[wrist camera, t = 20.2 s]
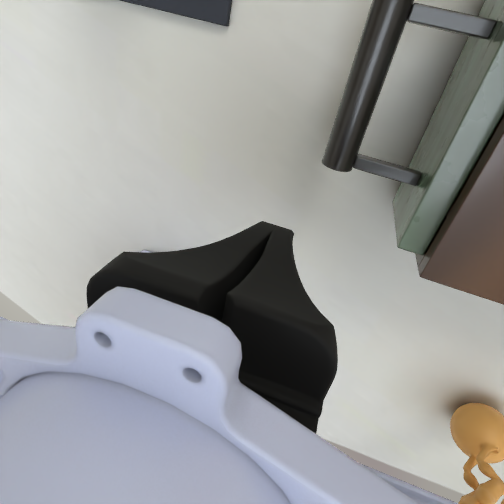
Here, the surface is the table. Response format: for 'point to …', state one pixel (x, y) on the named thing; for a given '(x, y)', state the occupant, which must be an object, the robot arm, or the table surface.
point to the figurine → (480, 449)
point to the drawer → (443, 119)
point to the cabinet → (473, 232)
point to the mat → (193, 8)
